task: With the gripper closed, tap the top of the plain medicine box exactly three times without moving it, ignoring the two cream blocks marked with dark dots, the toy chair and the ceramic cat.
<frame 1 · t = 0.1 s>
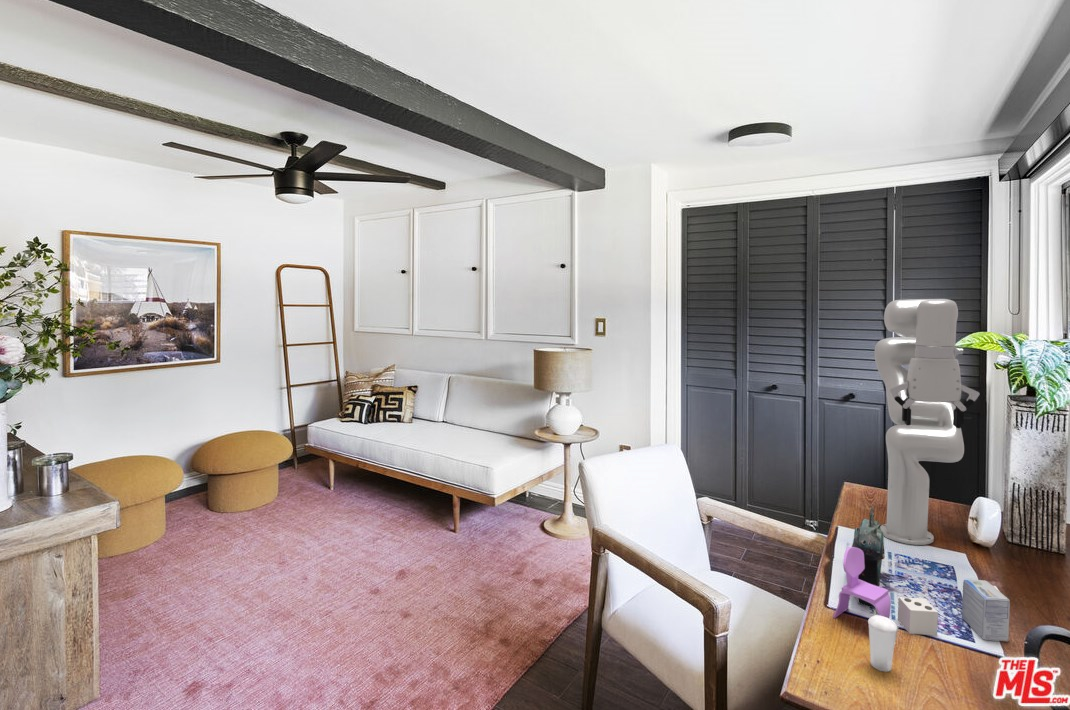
hand: (931, 425, 131), 37 cm above the table, tool pointing down, fingers open, 9 cm apart
dotted block three: (916, 627, 114), on the table
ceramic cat: (866, 589, 129), on the table
toy chair: (861, 622, 116), on the table
milkshake: (883, 668, 102), on the table
dotted block two: (983, 611, 119), on the table
medicine box: (983, 630, 112), on the table
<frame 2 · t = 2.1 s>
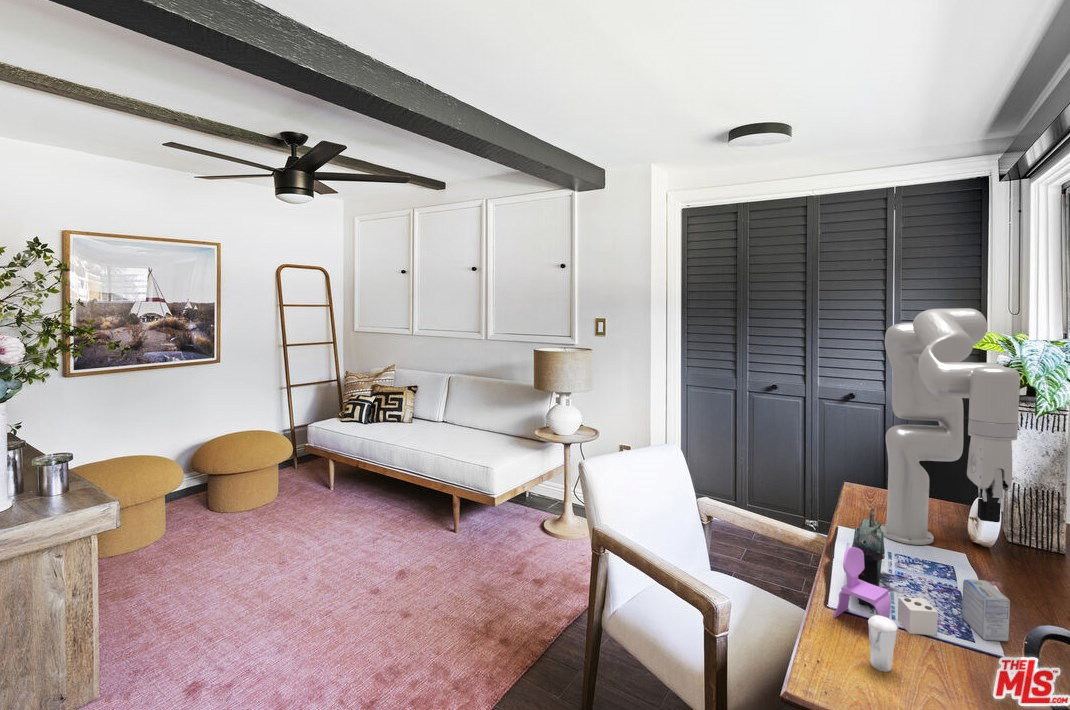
hand: (988, 519, 111), 22 cm above the table, tool pointing down, fingers closed
nothing on the table moved.
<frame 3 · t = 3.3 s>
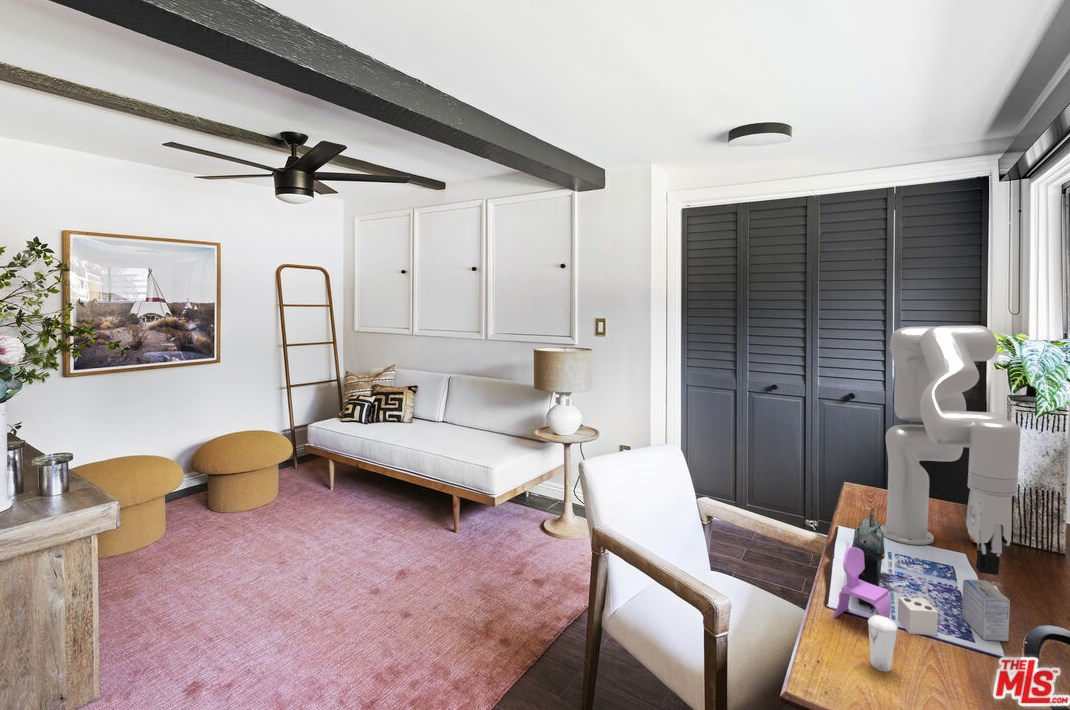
hand: (987, 571, 111), 12 cm above the table, tool pointing down, fingers closed
nothing on the table moved.
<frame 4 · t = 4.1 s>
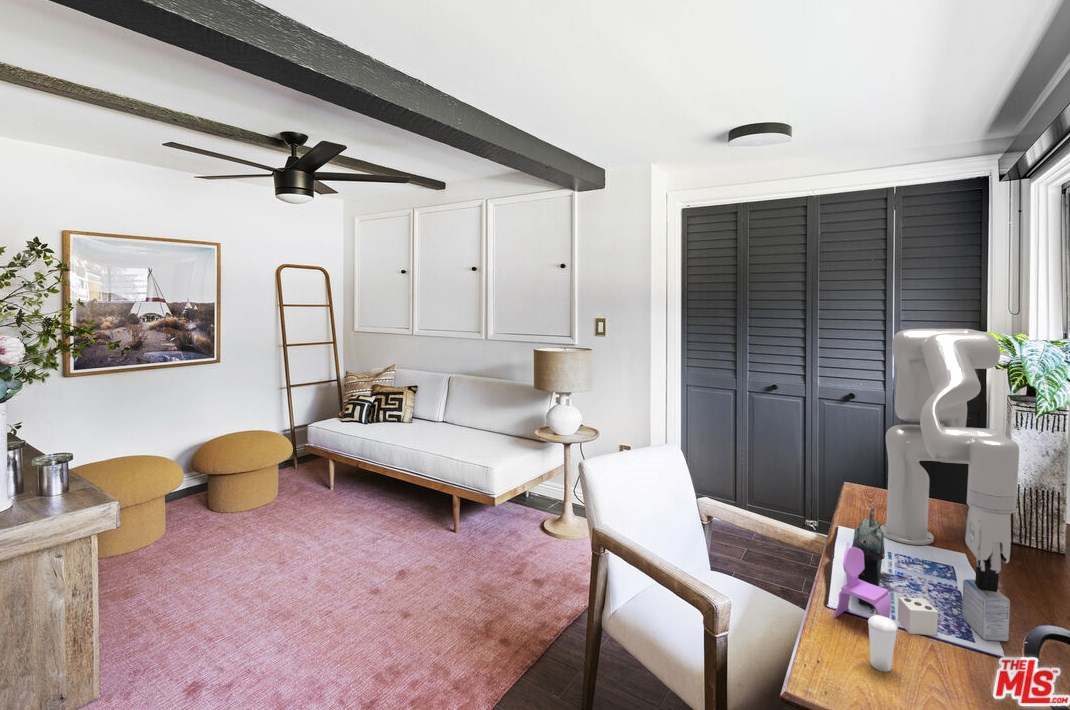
hand: (986, 588, 111), 9 cm above the table, tool pointing down, fingers closed
medicine box: (983, 630, 112), on the table, touching gripper
everything else where it was.
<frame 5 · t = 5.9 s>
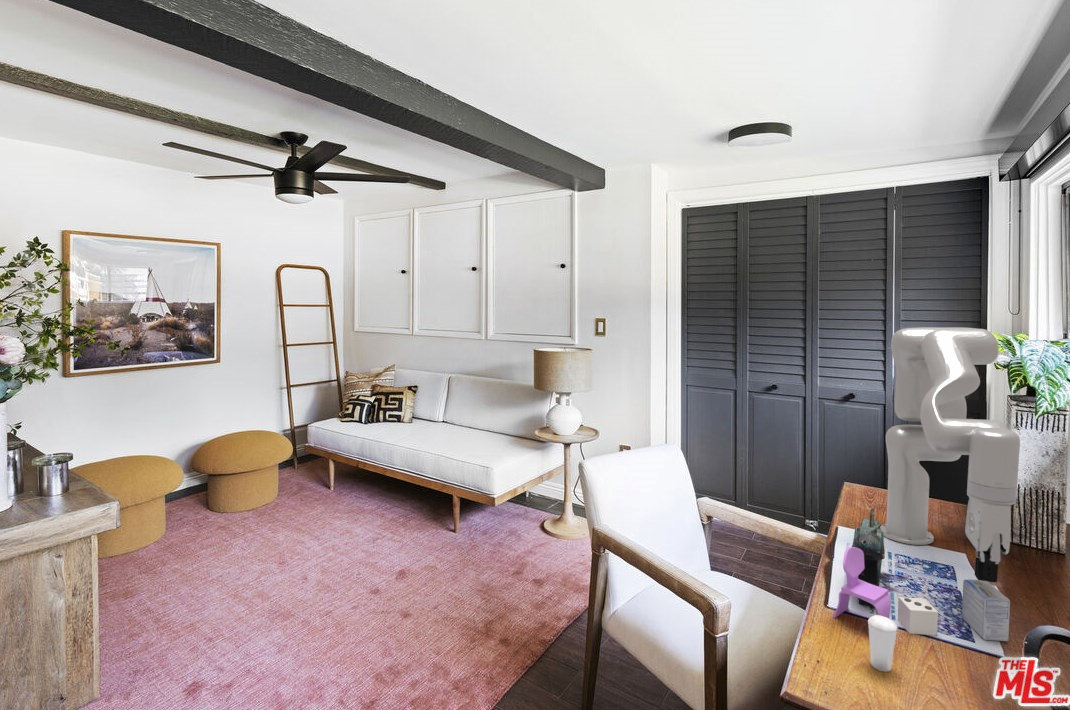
hand: (985, 579, 112), 10 cm above the table, tool pointing down, fingers closed
medicine box: (983, 630, 112), on the table
everything else where it was.
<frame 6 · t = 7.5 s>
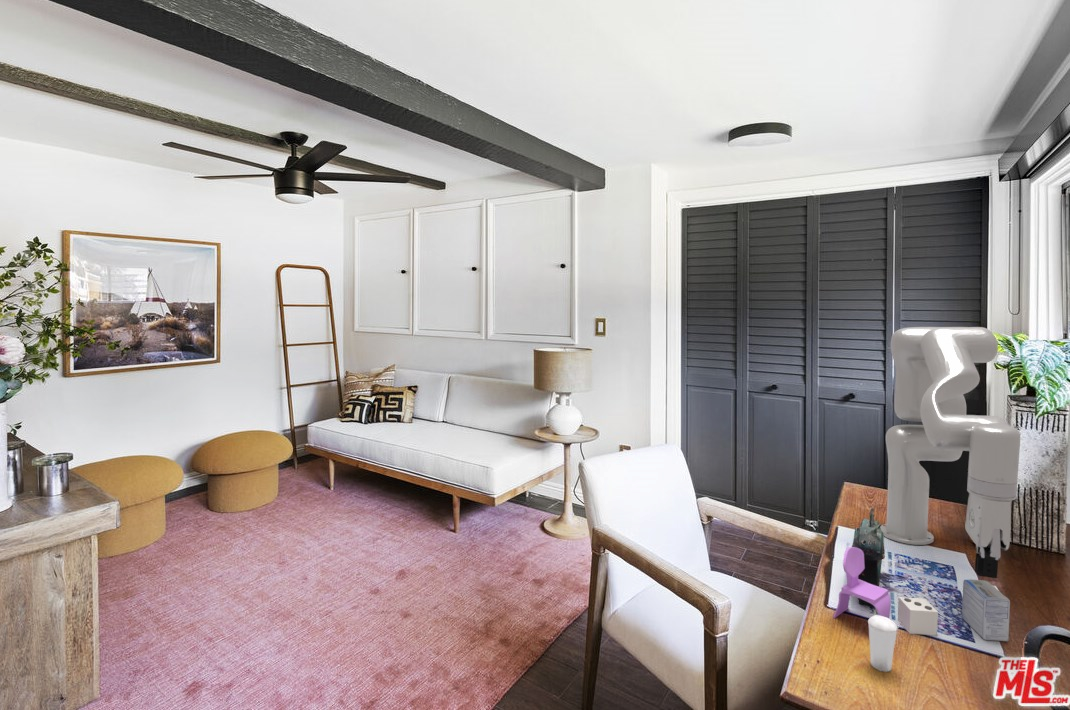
hand: (985, 575, 112), 11 cm above the table, tool pointing down, fingers closed
nothing on the table moved.
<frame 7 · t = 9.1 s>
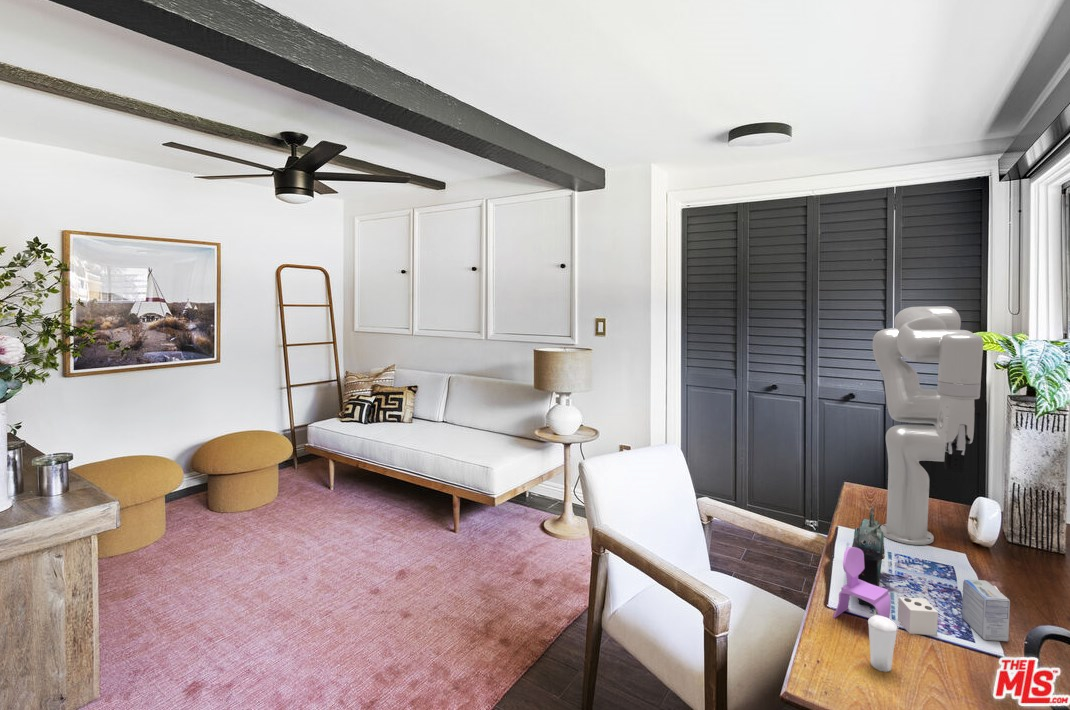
hand: (953, 470, 125), 28 cm above the table, tool pointing down, fingers closed
nothing on the table moved.
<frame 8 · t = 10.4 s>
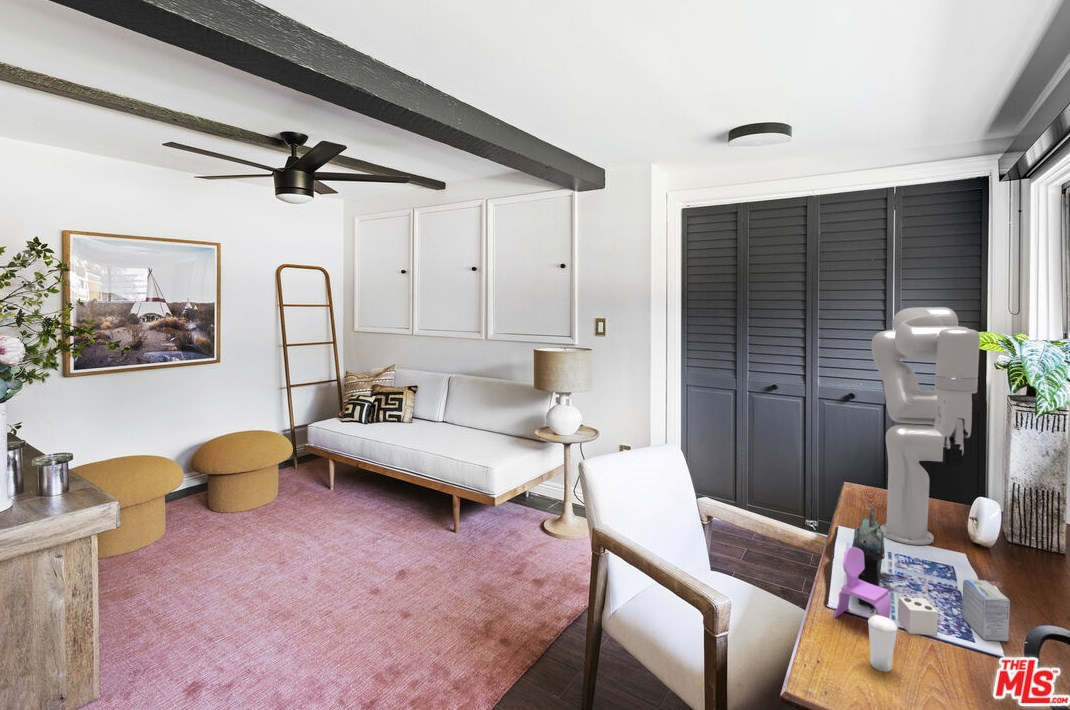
hand: (951, 465, 125), 29 cm above the table, tool pointing down, fingers closed
nothing on the table moved.
at the end: medicine box moved 0.3 cm from its start; medicine box tilted 0°; medicine box touching table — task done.
